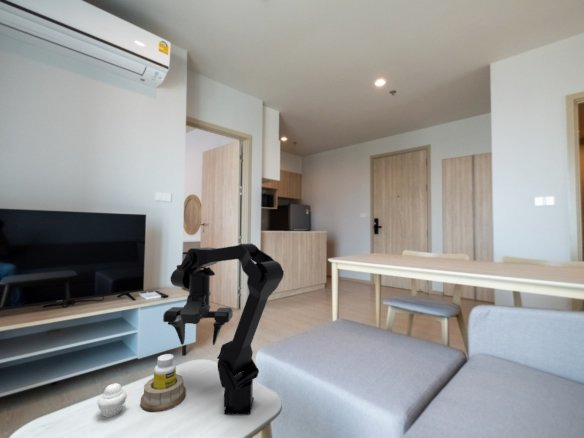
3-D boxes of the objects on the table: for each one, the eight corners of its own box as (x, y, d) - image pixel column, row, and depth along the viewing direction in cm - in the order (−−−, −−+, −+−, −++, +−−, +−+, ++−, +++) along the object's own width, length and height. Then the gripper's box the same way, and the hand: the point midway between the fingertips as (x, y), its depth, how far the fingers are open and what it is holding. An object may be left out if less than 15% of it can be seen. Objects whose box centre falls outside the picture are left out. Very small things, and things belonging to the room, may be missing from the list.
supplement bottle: (165, 401, 71) (167, 362, 71) (148, 398, 72) (149, 360, 73) (179, 390, 76) (180, 353, 76) (162, 387, 77) (163, 351, 78)
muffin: (93, 414, 68) (94, 384, 68) (121, 402, 73) (122, 375, 73) (101, 425, 64) (102, 394, 64) (130, 412, 69) (131, 383, 69)
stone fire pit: (191, 387, 80) (192, 372, 80) (175, 412, 69) (175, 395, 69) (153, 387, 80) (154, 372, 80) (131, 411, 69) (131, 394, 69)
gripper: (154, 296, 73) (152, 356, 73) (224, 297, 73) (223, 357, 72) (172, 288, 84) (171, 339, 84) (233, 288, 84) (232, 340, 84)
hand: (198, 344), depth 81 cm, fingers open, 9 cm apart
